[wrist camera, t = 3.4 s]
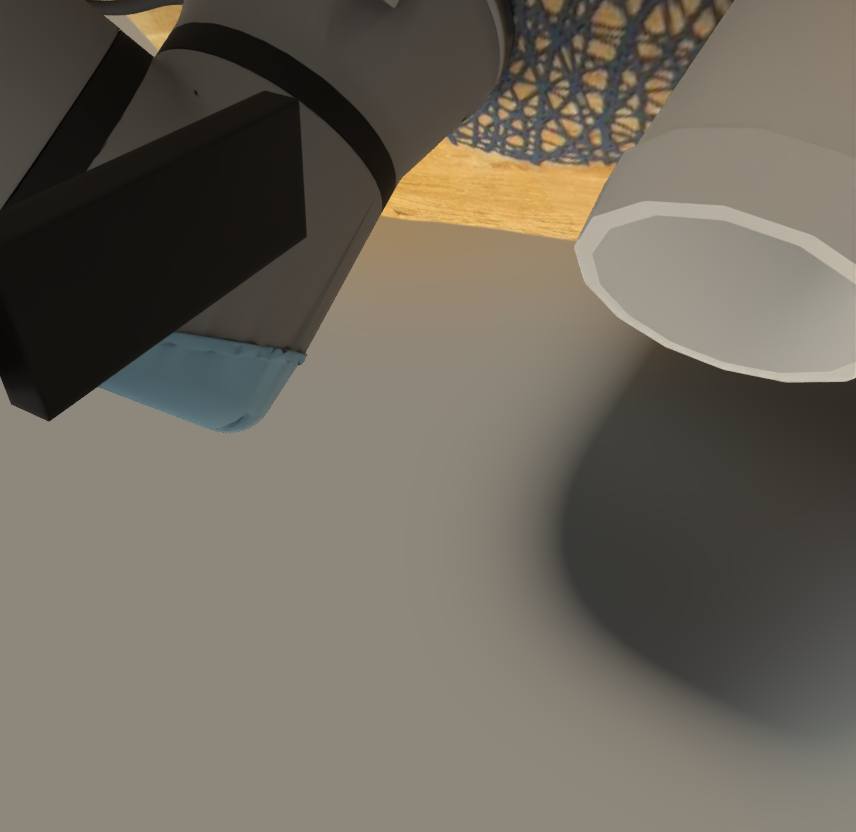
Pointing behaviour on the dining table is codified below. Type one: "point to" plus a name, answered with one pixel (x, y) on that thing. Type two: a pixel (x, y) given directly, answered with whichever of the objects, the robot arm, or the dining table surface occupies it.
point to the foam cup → (743, 201)
